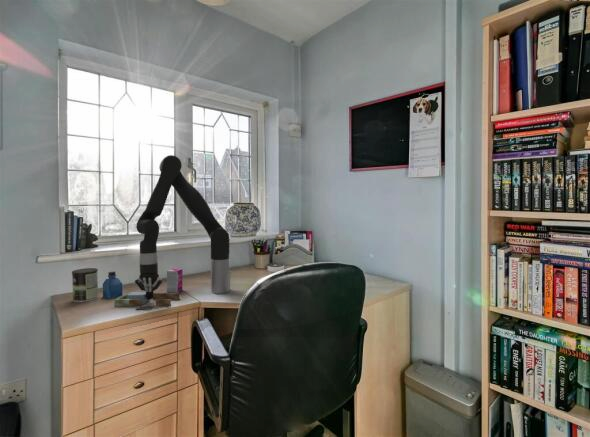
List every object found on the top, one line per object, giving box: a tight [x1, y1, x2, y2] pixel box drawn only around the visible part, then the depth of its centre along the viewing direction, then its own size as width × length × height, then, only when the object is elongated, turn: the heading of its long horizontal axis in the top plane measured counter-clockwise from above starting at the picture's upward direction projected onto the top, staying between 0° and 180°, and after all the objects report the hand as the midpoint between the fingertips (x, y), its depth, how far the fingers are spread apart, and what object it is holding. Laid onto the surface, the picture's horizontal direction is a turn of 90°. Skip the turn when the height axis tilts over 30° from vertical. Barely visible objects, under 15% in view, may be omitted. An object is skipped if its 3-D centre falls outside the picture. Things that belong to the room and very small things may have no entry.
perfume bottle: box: [102, 271, 123, 300], centre depth 153 cm, size 6×6×12 cm
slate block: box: [127, 291, 150, 305], centre depth 144 cm, size 8×5×4 cm, turn 90°
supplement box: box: [166, 268, 183, 293], centre depth 161 cm, size 6×6×12 cm
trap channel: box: [114, 292, 181, 311], centre depth 143 cm, size 25×20×3 cm
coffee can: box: [71, 267, 99, 303], centre depth 148 cm, size 10×10×14 cm
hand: (149, 299), depth 143 cm, fingers closed
